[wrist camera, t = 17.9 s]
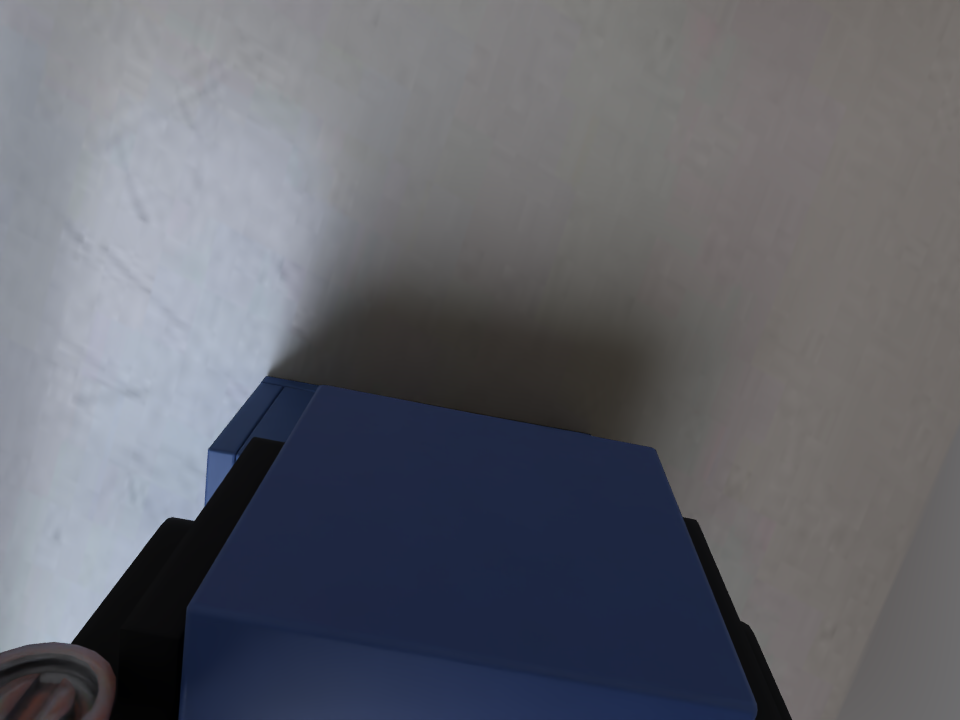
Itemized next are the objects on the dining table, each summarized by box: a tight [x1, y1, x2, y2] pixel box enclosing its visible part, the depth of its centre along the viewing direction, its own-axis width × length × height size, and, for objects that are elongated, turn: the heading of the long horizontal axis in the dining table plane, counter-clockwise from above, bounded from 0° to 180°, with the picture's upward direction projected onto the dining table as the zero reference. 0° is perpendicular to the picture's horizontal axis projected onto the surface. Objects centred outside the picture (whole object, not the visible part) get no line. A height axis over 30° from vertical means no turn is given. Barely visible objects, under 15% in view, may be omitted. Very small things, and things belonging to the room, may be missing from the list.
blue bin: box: [204, 376, 591, 507], centre depth 26 cm, size 12×12×6 cm
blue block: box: [178, 385, 757, 720], centre depth 9 cm, size 5×5×5 cm
